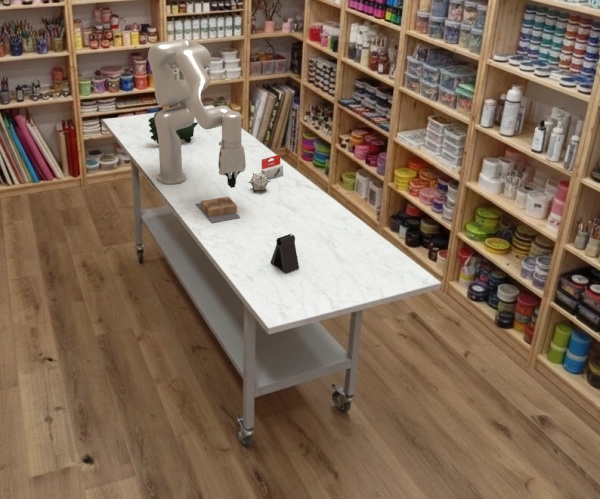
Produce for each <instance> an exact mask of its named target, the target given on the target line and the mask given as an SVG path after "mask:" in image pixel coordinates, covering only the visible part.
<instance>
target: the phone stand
mask: <svg viewBox="0 0 600 499" xmlns="http://www.w3.org/2000/svg"><path fill="white" fill-rule="evenodd" d="M295 243H296V237H295V235H294V234H292V233H289V234H286V235H283V236H280V237H278V238H276V244H275V247H274V251H273V254H272V257H271V259H270V264H271V265H272V266H274V267H275V268H276V269H278V270H280V271H281V272H282V273H284V274H288V273H291V272H294V271H296V270H298V269H300V265H299V261H298V260H299V259H298V254H297V248H296V244H295Z"/></svg>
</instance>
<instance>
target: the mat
mask: <svg viewBox="0 0 600 499" xmlns="http://www.w3.org/2000/svg"><path fill="white" fill-rule="evenodd" d="M195 206H196V207H197V208H198V209H199V210H200V212H202V213H203V215H204V216H205V217H206V218H207V219H208V220H209V222H210V223H211V224H215V223H221V222H225V221H226V222H227V221H232V220H237V219H240V218H241V216H240V215H239V214H238V212H235V213H230V214H224V215H218V216H213V217H209V216H208V215H207V214H206V213H205V212H204V210H203V209H202V208H201V202H197V203H195Z"/></svg>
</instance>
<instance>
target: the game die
mask: <svg viewBox="0 0 600 499" xmlns="http://www.w3.org/2000/svg"><path fill="white" fill-rule="evenodd" d="M264 173H265V172H263V173H260V172H259V173H254V172H252V174H253V175H252V176H251V179H250V181H248V184H250V185H251V186H252V188H253V193H255V192H256V191H263V190H264V191H265V192H267V190H266V188H267V185H268V183H270V182H271V180H267V178H266V176H265V175H264Z"/></svg>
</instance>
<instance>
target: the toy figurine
mask: <svg viewBox="0 0 600 499" xmlns="http://www.w3.org/2000/svg"><path fill="white" fill-rule="evenodd" d="M160 111H161V110H160ZM160 111H157V112H155V113H154V114H153V117H150V118H149V119H147V121H148V127H149V128H150V129H149V132H150V133H151V134H152V135H150V139H151V140H153V142H156V143H157V144H158V145H159V143H158V133H157V129H156V125H155V116H156V114H157V113H158V112H160ZM197 125H199V123H198V122H197V121H196V122H194V123H193V124H192V125H191V126H189V127H186V128H182V129H179V130H177V131H176V133H177V135H178V136H179V138H180V140H182V141H184V142H185V143H190V142H191V141H192V137H194V132H195V127H197Z"/></svg>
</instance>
